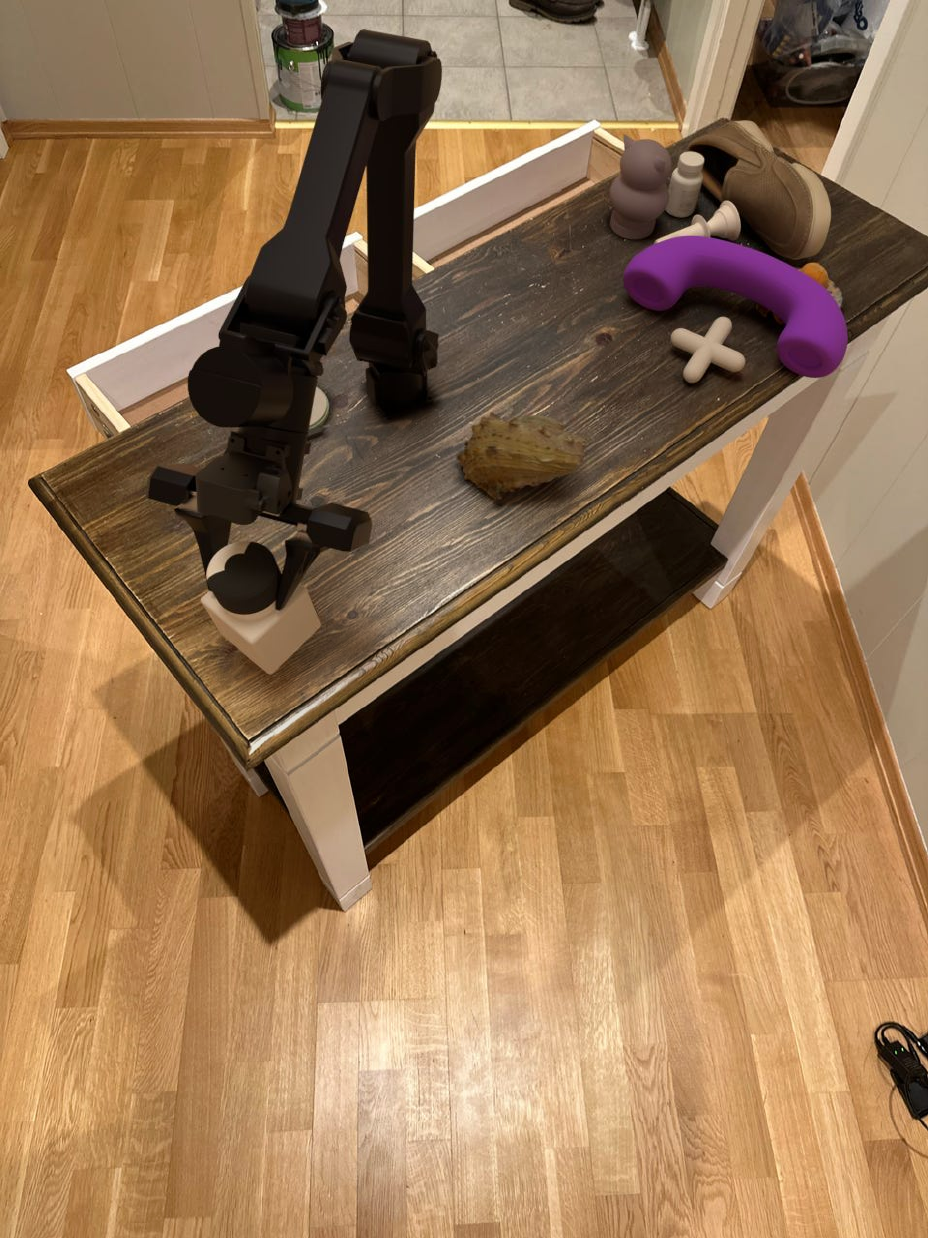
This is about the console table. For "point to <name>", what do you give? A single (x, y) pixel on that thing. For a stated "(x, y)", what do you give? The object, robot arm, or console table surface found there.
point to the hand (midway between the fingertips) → (245, 600)
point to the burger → (818, 275)
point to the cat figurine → (639, 188)
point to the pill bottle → (685, 185)
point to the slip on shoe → (765, 189)
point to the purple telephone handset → (787, 292)
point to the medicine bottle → (257, 605)
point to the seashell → (519, 453)
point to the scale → (318, 414)
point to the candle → (713, 225)
